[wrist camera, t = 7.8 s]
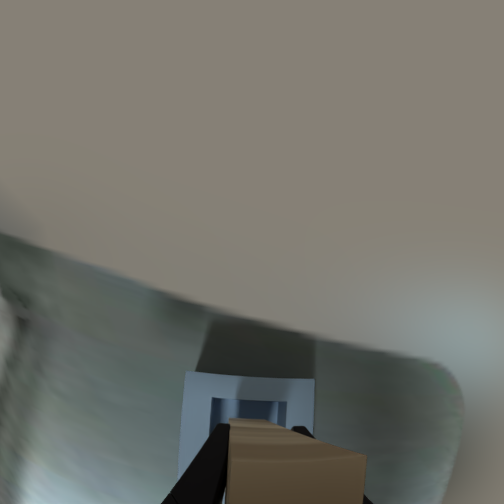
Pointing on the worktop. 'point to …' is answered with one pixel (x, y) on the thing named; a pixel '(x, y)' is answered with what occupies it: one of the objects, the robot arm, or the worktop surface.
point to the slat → (289, 467)
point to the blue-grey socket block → (239, 406)
